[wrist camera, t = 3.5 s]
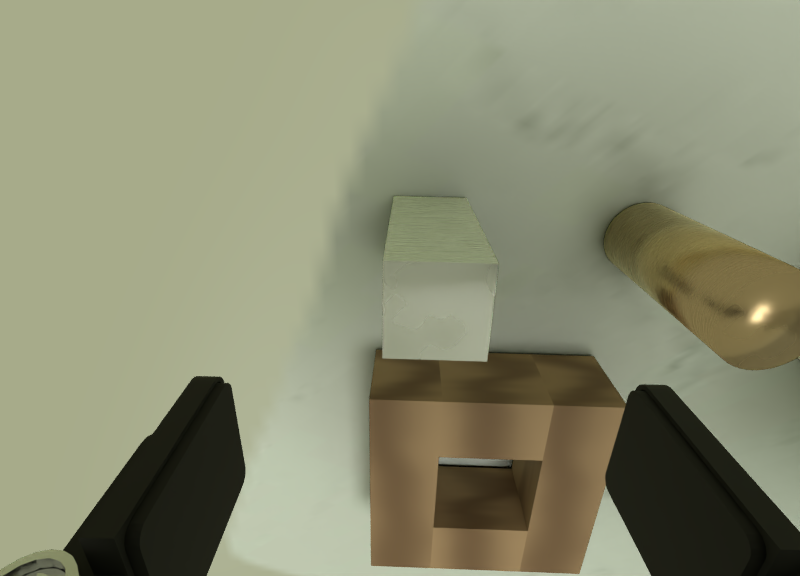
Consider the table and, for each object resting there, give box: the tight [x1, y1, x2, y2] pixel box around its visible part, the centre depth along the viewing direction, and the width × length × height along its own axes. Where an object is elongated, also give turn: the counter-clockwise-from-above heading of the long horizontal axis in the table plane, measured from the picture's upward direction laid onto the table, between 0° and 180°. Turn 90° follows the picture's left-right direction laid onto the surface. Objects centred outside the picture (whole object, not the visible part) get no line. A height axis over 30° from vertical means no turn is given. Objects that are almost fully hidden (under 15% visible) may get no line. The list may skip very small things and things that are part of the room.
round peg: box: [604, 203, 800, 370], centre depth 20 cm, size 4×4×10 cm
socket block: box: [369, 350, 626, 574], centre depth 29 cm, size 14×14×5 cm
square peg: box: [382, 196, 499, 362], centre depth 20 cm, size 4×4×10 cm
